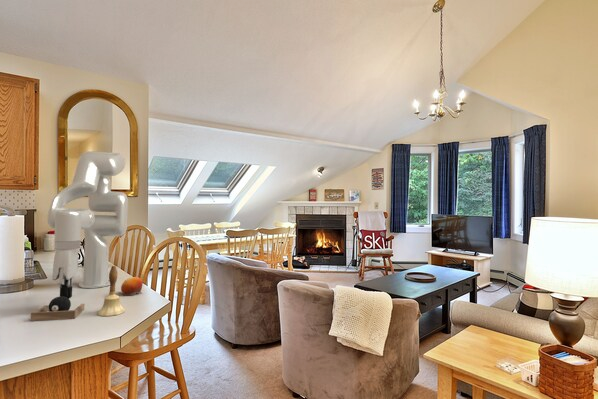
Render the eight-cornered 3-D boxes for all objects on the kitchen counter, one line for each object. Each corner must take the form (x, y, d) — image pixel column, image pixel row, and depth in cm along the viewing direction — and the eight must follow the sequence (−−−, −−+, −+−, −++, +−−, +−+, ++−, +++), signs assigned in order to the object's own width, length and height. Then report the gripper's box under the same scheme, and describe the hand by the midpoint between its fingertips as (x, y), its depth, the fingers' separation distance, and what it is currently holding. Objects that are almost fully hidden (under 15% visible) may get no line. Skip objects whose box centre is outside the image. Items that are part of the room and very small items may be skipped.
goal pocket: (44, 311, 115) (44, 304, 115) (84, 309, 119) (84, 302, 119) (30, 321, 106) (30, 313, 106) (74, 318, 109) (74, 311, 109)
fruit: (138, 293, 135) (129, 276, 136) (122, 302, 137) (114, 284, 138) (150, 289, 143) (142, 272, 144) (136, 297, 145) (128, 280, 146)
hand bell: (99, 310, 119) (101, 264, 119) (125, 308, 122) (127, 263, 122) (95, 317, 111) (97, 269, 111) (124, 315, 114) (125, 267, 115)
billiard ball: (73, 311, 116) (74, 294, 116) (64, 317, 110) (65, 299, 110) (54, 312, 115) (55, 294, 115) (44, 317, 109) (44, 299, 109)
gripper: (63, 242, 124) (61, 292, 124) (45, 249, 109) (43, 305, 110) (86, 242, 126) (84, 291, 126) (72, 248, 112) (70, 304, 112)
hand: (65, 297), depth 118 cm, fingers closed
